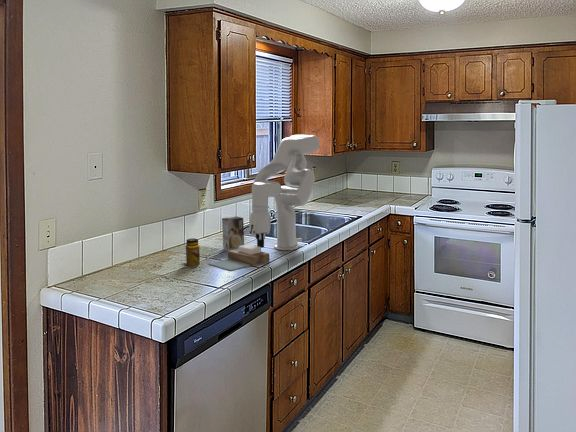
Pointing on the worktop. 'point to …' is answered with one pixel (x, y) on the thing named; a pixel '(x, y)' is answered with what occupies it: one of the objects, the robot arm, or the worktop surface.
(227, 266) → the mat
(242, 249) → the tile
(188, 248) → the condiment
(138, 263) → the worktop surface
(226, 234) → the coffee box
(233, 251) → the board
